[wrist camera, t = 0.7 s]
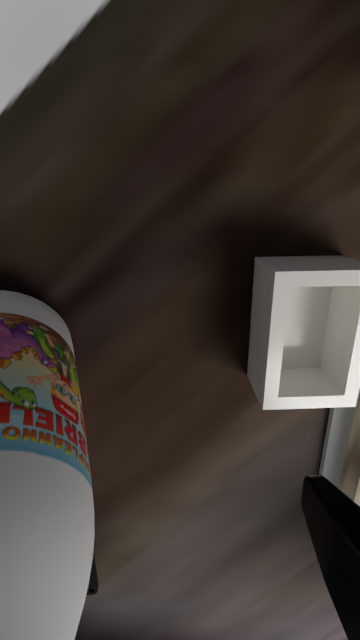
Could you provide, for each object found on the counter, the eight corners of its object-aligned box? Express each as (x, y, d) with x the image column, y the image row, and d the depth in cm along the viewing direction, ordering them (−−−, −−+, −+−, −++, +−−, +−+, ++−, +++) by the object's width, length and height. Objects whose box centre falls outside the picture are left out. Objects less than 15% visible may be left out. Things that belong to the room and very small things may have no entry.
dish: (325, 372, 23) (355, 406, 19) (247, 374, 23) (262, 410, 19) (343, 255, 20) (383, 269, 16) (254, 257, 20) (275, 271, 16)
